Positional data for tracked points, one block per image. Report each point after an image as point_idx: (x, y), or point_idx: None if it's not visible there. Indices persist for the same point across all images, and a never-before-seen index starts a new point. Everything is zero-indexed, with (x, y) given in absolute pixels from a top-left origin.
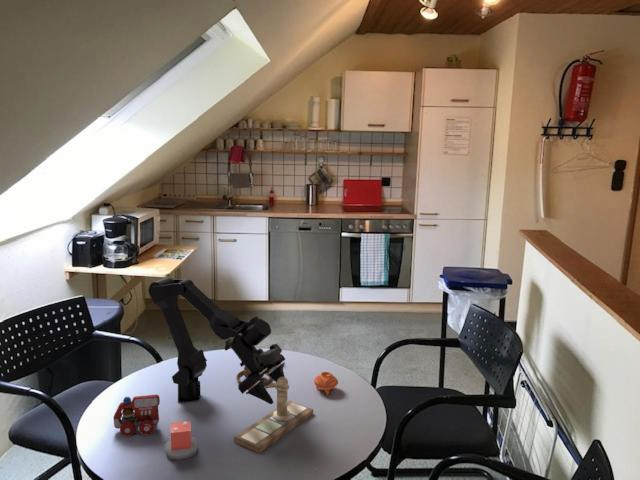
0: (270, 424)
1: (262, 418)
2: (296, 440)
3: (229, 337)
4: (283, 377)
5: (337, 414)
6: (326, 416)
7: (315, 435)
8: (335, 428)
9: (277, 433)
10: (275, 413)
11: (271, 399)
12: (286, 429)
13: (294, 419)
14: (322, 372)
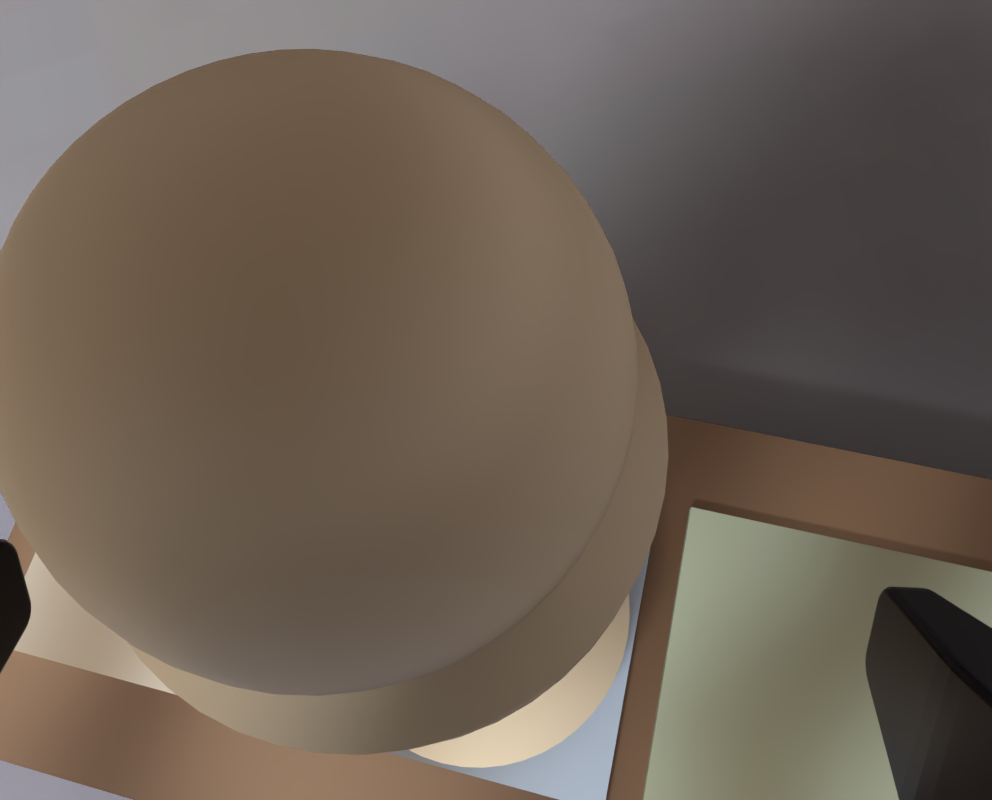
0: (766, 690)
1: None
2: (784, 282)
3: None
4: (197, 136)
5: (91, 107)
6: None
7: (586, 148)
8: (373, 36)
9: (906, 485)
10: (521, 715)
11: (979, 633)
12: (716, 432)
13: None
14: None
